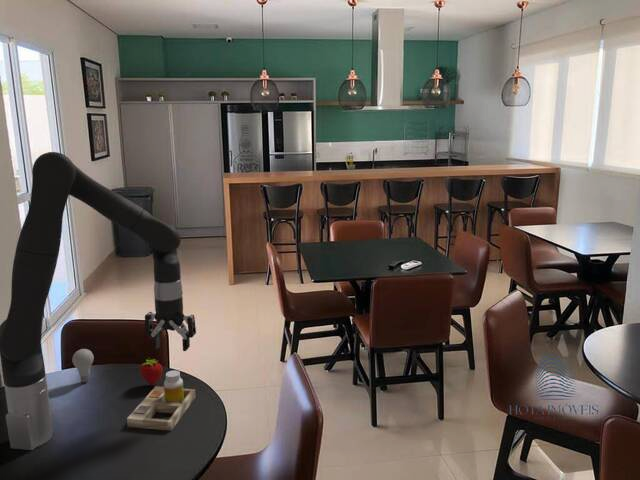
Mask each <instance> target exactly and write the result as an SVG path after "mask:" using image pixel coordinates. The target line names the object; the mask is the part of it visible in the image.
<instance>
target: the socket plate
mask: <svg viewBox="0 0 640 480" xmlns="http://www.w3.org/2000/svg"><path fill="white" fill-rule="evenodd" d="M183 389H184V400H183V402H182V403H172V402H165V393H164V386H159V385H157V386H154V388H153V389H152V390H151V391H150V392H149V393H148V394H147V396H146V397H145V398H144V399H143V400H142V401H141V402H140V403H139V404H138V405H137V406H136V408H135V409H134V410H133V411H132V412H131V413H130V414H129V416H127V418H126V421H127V428H139V429H150V430H151V429H152V430H161V431H170V432H171V431H172V430H173V429H174V427H175V426H176V425H177V424H178V422H180V419H181V418H182V416H183V415H184V414H185V412H186V411H187V409H188V408H189V407H190V406H191V404H192V403H193V401H195V399H196V398H197V397H196V389H195V388H193V389H192V388H184V387H183ZM156 413H162V414H163V413H165V414H172V415H171V416H170V418H169V419H161V418H153V417H154V416H155V414H156Z"/></svg>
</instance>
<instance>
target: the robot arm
mask: <svg viewBox="0 0 640 480" xmlns="http://www.w3.org/2000/svg"><path fill="white" fill-rule="evenodd" d="M31 172H32V174H31V175H32V179H31V180H32V183H31V192H30V194H31V195H30V201H29V207H28V211H27V214H26V217H25V219H24V221H23V224H22V226H21V229H20V233H19V236H18V240H17V242H16V243H17V244H16V247H15V251H14V252H15V253H14V257H13V263H12V271H11V291H10V293H11V294H10V295H11V298H10V305H9V309H8V313H7V317H6V319H5V320H4V321H2V322H1V324H0V364H1V365H0V366H1V373H2V378H3V383H4V384H3V385H4V391H5V399H6V407H7V411H8V412H7V414H6V415H5V421H6V426H7V427H6V428H7V433H8V434H7V435H8V439H9V446H10V449H16V450H25V451H33V450H34V449H36V448H38V447H40V446H43V445H44V444H46V443H48V442H49V441H50V440H51V439H52V438H53V436H54V429H53V422H52V415H51V414H52V413H51V407H50V399H49V392H48V391H49V390H48V383H47V375H46V374H47V373H46V369H45V368H46V366H45V361H44V354H43V350H42V349H43V347H42V333H43V323H44V322H43V321H44V312H45V307H46V302H47V299H48V297H49V296H48V295H49V293H50V291H51V287H52V283H53V279H54V275H55V272H56V267H57V263H58V258H59V254H60V250H61V249H60V248H61V242H62V241H61V240H62V234H63V233H62V232H63V218H64V213H65V209H66V205H67V202H68V198H69V196H71V197H73V198H75V199H76V200H79V201H81V202H82V203H84V204H85V205H87V206H89V207H91V208H92V209H93V210H95V211H96V212H98V213H99V214H100V215H101V216H103V217H105V218H106V219H107V220H108V221H110V222H112V223H113V224H116V225H117V226H118V227H121V228H123V229H124V230H126V231H127V232H129V233H131V234H134V235H135V236H136V237H139V238H140V239H141V240H143V241H144V242H146V243H147V244H149V245H150V246H151V247H150V248H151V252H152V253H151V254H152V258H153V277H154V278H153V279H154V281H153V282H154V284H153V285H154V286H153V294H154V297H153V298H154V310H155V313H153V312H152V311H149V312H148V313H146V314H145V315H144V334H145V335H149V336H151V340H152V341H151V342H152V343H151V344H152V347H153V348H154V350H158V349H159V348H160V346H161V341H160V334H159V333H160V331H161V330H163V331H176V332H177V334H179V335H180V336H181V338H182V352H187V351H188V349H189V348H190V347H191V344H190V343H191V341H190V340H191V338H193V337H194V336H195V335H196V334H197V330H196V329H197V327H196V320H195V319H196V317H195V315H194V314H191V315H185V314H184V303H183V302H184V301H183V300H184V299H183V298H184V297H183V294H184V293H183V286H182V281H181V280H182V278H181V275H182V274H181V265H180V260H179V259H178V255H177V254H178V253H177V252H178V251H177V249H178V248H179V247H180V245H181V240H182V239H181V234H180V233H179V231H178V230H177V229H176V228H175V227H174V226H173V225H171V224H170V223H167V222H164V221H162V220H159V219H158V218H156V217H155V216H153V215H152V214H151V213H150V212H148V211H147V210H145V209H144V208H142V207H141V206H139V205H137V204H136V203H134V202H133V201H131V200H130V199H128V198H126V197H125V196H122V195H121V194H119V193H117V192H116V191H113V190H111V189H110V188H108V187H106V186H104V185H103V184H101V183H99V182H98V181H96V180H94V179H93V178H92V177H90V176H89V175H87V174H86V173H85V172H83V170H82V169H80V168H79V167H78V166H77V165H76V164H74V163H73V161H72V160H71V159H70V158H69V157H68V156H66V155H65V154H63V153H60V152H57V151H56V152H55V151H48V152H45V153H42V154H41V155H39V156H38V157H37V158H36V159H35V161H34V163H33V165H32V171H31ZM154 320H155V321H156V323H157V325H156V327H155V328H154V327H153V326H154V324H153V323H154V322H153V321H154ZM184 321H185V323H186V324H187V326H186V324H185V323H184Z"/></svg>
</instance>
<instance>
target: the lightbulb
mask: <svg viewBox="0 0 640 480" xmlns="http://www.w3.org/2000/svg"><path fill="white" fill-rule="evenodd" d="M94 357H95V356H94V354H93V352H92V351H91V350H90V349H87V348H80V349H79V350H77V351H75V352H74V353H73V355H72V359H71V361H72V364H73V365H74V367H75V368H76V370H77V371H78V375H79V376H80V377H79V378H80V381H81V382H82V383H87V382H88V381H89V380H91V379H90V374H91V367H92V365H93V362H94V359H95V358H94Z"/></svg>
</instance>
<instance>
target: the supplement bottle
mask: <svg viewBox="0 0 640 480" xmlns="http://www.w3.org/2000/svg"><path fill="white" fill-rule="evenodd" d="M180 372H181V371H179V370H173V369H172V370H170V371H167V372H166V373H165V380H164V382H163V387H164V393H165V402H172V403H182V402H183V400H184V399H185V398H184V389H185V388H184V381H183V378H181V373H180ZM183 388H184V389H183Z"/></svg>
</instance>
